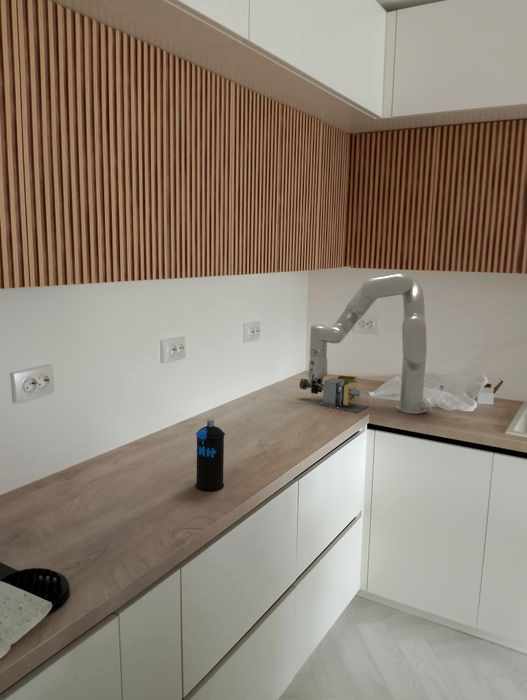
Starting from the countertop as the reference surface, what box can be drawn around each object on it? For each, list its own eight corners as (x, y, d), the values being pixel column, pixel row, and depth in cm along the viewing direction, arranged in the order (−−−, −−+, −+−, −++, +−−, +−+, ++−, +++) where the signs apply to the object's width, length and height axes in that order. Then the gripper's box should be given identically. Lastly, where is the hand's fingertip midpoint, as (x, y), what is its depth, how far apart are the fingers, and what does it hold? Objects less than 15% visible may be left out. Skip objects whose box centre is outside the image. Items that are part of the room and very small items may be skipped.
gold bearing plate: (355, 401, 261) (356, 383, 259) (347, 405, 254) (348, 386, 252) (351, 400, 262) (352, 382, 260) (343, 404, 255) (344, 385, 253)
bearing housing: (346, 403, 265) (347, 379, 263) (335, 408, 256) (336, 383, 254) (330, 400, 269) (331, 376, 267) (319, 405, 260) (320, 381, 258)
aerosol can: (209, 478, 177) (210, 413, 173) (229, 485, 171) (231, 419, 168) (189, 486, 170) (189, 419, 167) (210, 494, 165) (210, 425, 162)
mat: (368, 407, 259) (368, 406, 259) (357, 413, 250) (357, 412, 249) (347, 403, 265) (347, 402, 265) (336, 409, 255) (336, 408, 255)
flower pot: (334, 397, 275) (335, 378, 273) (337, 393, 283) (338, 374, 281) (353, 399, 272) (354, 380, 270) (356, 394, 280) (357, 376, 279)
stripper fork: (349, 404, 263) (350, 381, 261) (341, 408, 255) (342, 385, 254) (348, 404, 263) (349, 381, 261) (339, 408, 256) (340, 385, 254)
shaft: (360, 397, 257) (361, 387, 256) (356, 399, 253) (356, 389, 252) (304, 387, 272) (305, 377, 271) (299, 389, 268) (299, 379, 267)
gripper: (317, 356, 254) (315, 397, 257) (334, 351, 268) (332, 390, 271) (301, 354, 258) (300, 394, 261) (319, 349, 272) (317, 388, 275)
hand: (316, 392), depth 266 cm, fingers closed on shaft, 2 cm apart
